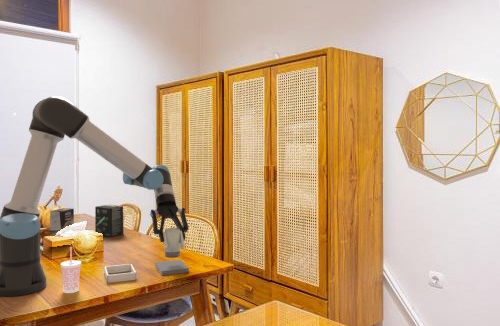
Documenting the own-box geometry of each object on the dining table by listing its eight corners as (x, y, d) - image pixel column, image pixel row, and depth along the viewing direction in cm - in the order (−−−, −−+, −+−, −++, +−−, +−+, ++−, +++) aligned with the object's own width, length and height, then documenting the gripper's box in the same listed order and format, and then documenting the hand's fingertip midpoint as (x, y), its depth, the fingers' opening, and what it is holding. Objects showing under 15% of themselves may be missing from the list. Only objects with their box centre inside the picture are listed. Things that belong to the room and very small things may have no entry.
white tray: (107, 282, 142) (107, 275, 142) (104, 273, 152) (104, 266, 152) (136, 279, 146) (136, 272, 146) (131, 270, 156) (131, 263, 156)
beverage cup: (58, 294, 131) (58, 250, 130) (63, 287, 137) (62, 245, 136) (79, 293, 132) (79, 249, 131) (83, 286, 138) (82, 244, 137)
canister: (166, 258, 155) (166, 231, 154) (163, 254, 160) (163, 228, 160) (181, 256, 157) (181, 230, 157) (177, 253, 162) (177, 227, 162)
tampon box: (123, 234, 216) (123, 206, 216) (109, 237, 208) (109, 208, 208) (109, 231, 222) (109, 204, 221) (94, 234, 214) (94, 206, 214)
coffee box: (62, 247, 189) (62, 211, 188) (49, 246, 190) (49, 210, 189) (74, 242, 197) (74, 208, 197) (62, 241, 199) (62, 207, 198)
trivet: (161, 275, 151) (161, 271, 151) (155, 266, 162) (155, 262, 162) (188, 272, 155) (188, 268, 155) (180, 263, 166) (180, 259, 166)
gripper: (185, 202, 175) (197, 251, 161) (140, 204, 168) (148, 255, 154) (189, 191, 170) (201, 240, 156) (142, 193, 163) (150, 244, 149)
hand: (174, 248), depth 155 cm, fingers closed on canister, 6 cm apart
